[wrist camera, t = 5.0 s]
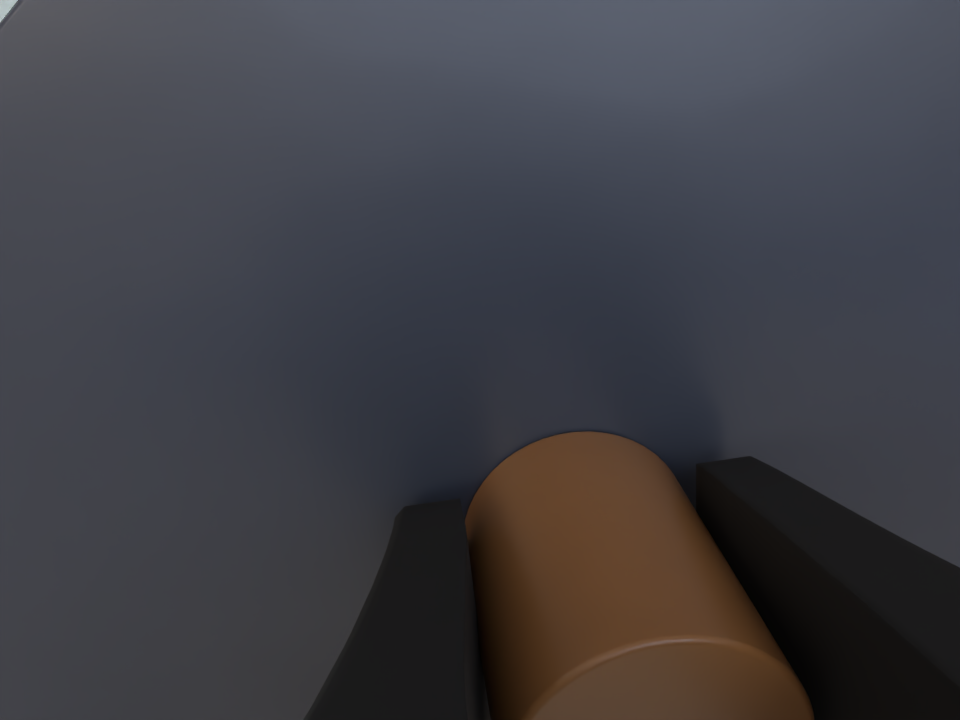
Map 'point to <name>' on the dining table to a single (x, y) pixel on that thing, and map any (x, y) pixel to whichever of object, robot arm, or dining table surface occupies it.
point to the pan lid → (457, 332)
